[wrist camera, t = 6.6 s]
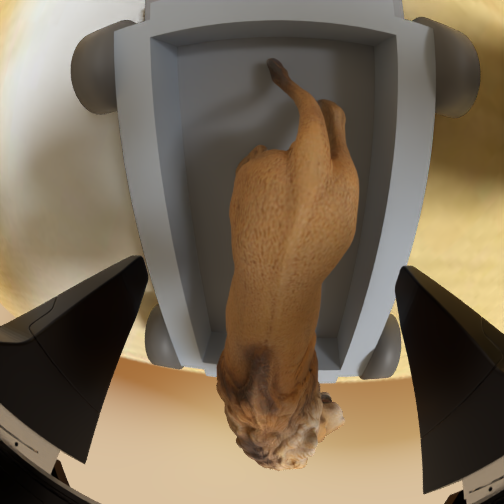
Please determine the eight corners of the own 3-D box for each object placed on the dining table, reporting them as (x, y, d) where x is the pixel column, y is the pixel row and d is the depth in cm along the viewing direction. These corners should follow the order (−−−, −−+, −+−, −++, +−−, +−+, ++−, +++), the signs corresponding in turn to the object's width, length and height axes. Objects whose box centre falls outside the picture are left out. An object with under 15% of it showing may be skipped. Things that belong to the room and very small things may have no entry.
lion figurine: (332, 332, 16) (341, 475, 8) (247, 334, 17) (221, 472, 9) (335, 58, 8) (473, -25, 1) (202, 70, 9) (10, 49, 1)
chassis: (425, 11, 6) (469, -8, 3) (367, 354, 18) (375, 400, 15) (124, 13, 8) (73, -2, 5) (179, 345, 20) (164, 387, 16)
